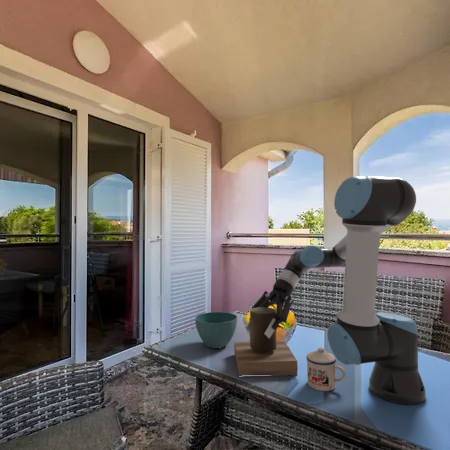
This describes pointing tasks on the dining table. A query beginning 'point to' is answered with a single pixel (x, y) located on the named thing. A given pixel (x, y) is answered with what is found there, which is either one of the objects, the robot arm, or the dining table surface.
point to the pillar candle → (262, 329)
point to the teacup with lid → (322, 370)
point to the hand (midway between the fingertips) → (257, 332)
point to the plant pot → (216, 328)
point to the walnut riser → (265, 360)
